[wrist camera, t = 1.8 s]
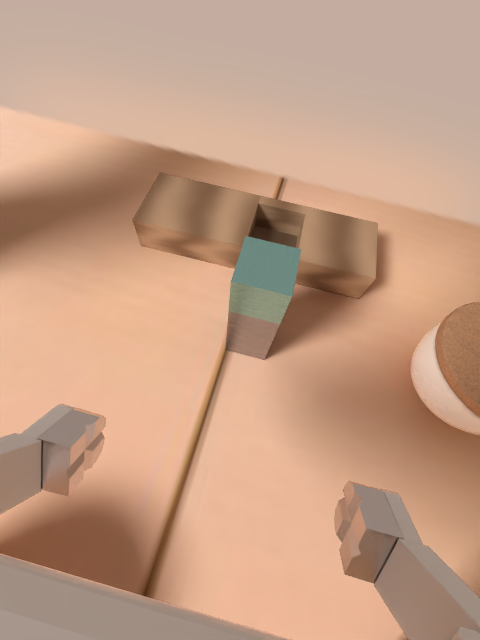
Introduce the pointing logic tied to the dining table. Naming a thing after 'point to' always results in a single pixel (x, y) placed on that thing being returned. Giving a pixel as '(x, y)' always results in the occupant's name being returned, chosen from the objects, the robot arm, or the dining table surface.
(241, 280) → the teal square peg
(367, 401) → the dining table surface
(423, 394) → the lidded jar
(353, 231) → the wooden peg hole block
